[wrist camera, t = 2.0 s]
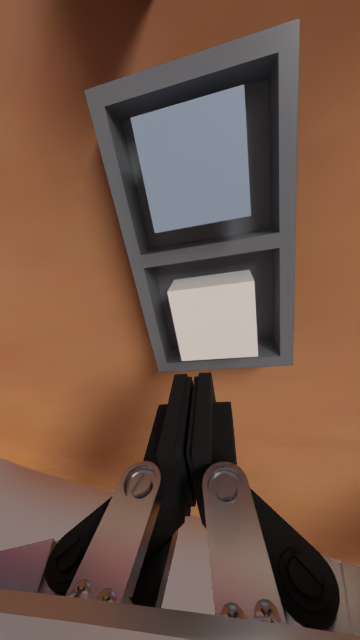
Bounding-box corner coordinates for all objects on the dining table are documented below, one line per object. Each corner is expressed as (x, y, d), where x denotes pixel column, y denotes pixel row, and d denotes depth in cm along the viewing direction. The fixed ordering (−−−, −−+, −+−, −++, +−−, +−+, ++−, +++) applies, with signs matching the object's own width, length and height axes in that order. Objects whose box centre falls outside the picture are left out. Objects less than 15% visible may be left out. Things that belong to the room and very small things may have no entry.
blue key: (239, 106, 14) (244, 84, 12) (246, 213, 17) (250, 215, 14) (145, 132, 16) (130, 117, 13) (164, 228, 18) (154, 233, 15)
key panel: (281, 60, 15) (299, 17, 12) (282, 341, 24) (292, 365, 20) (111, 112, 18) (84, 90, 14) (166, 349, 27) (158, 372, 23)
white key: (249, 269, 18) (254, 280, 16) (253, 336, 21) (258, 356, 18) (174, 279, 20) (167, 291, 17) (186, 342, 22) (181, 361, 20)
